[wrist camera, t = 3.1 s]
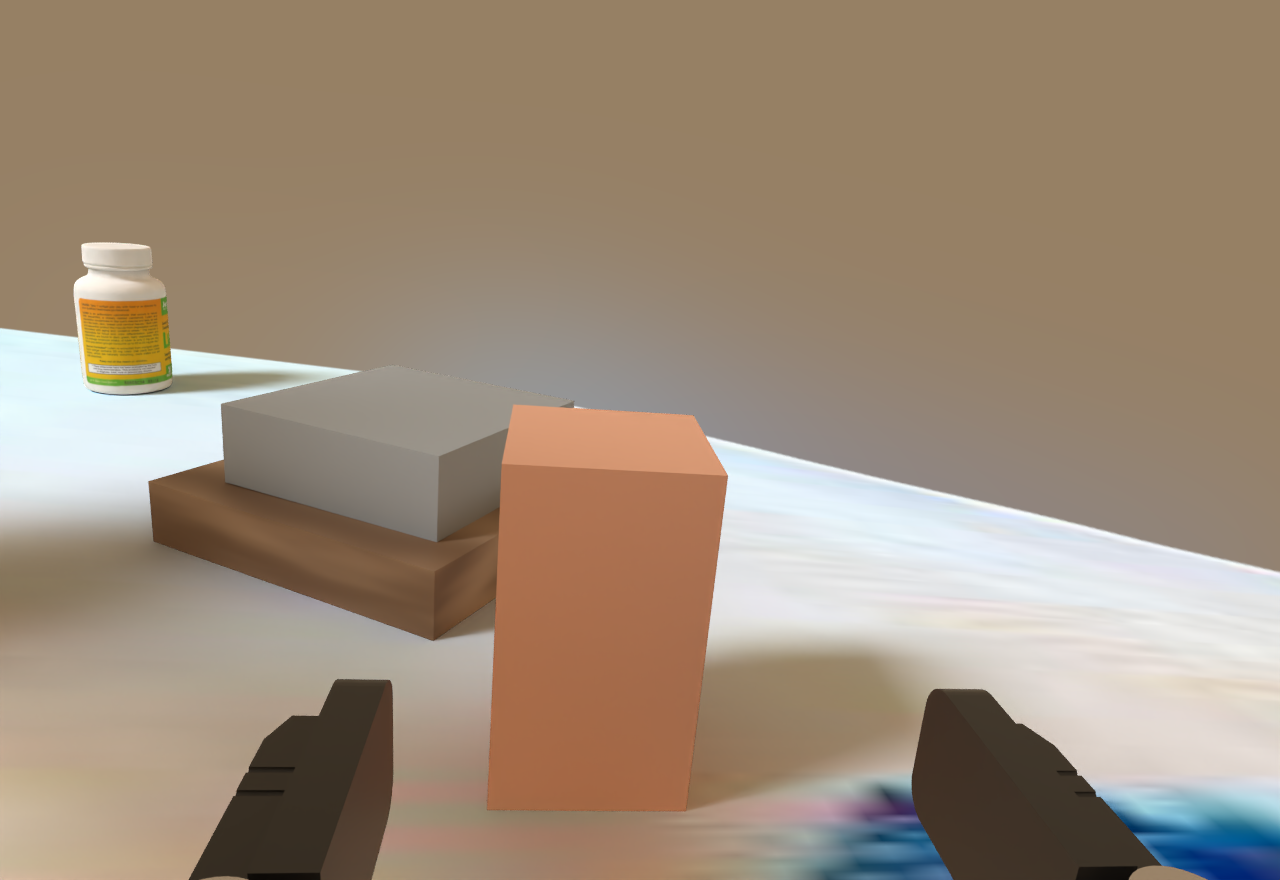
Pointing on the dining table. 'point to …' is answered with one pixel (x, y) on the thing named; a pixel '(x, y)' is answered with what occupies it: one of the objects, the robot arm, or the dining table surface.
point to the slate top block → (379, 446)
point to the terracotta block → (601, 608)
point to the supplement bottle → (122, 321)
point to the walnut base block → (329, 552)
